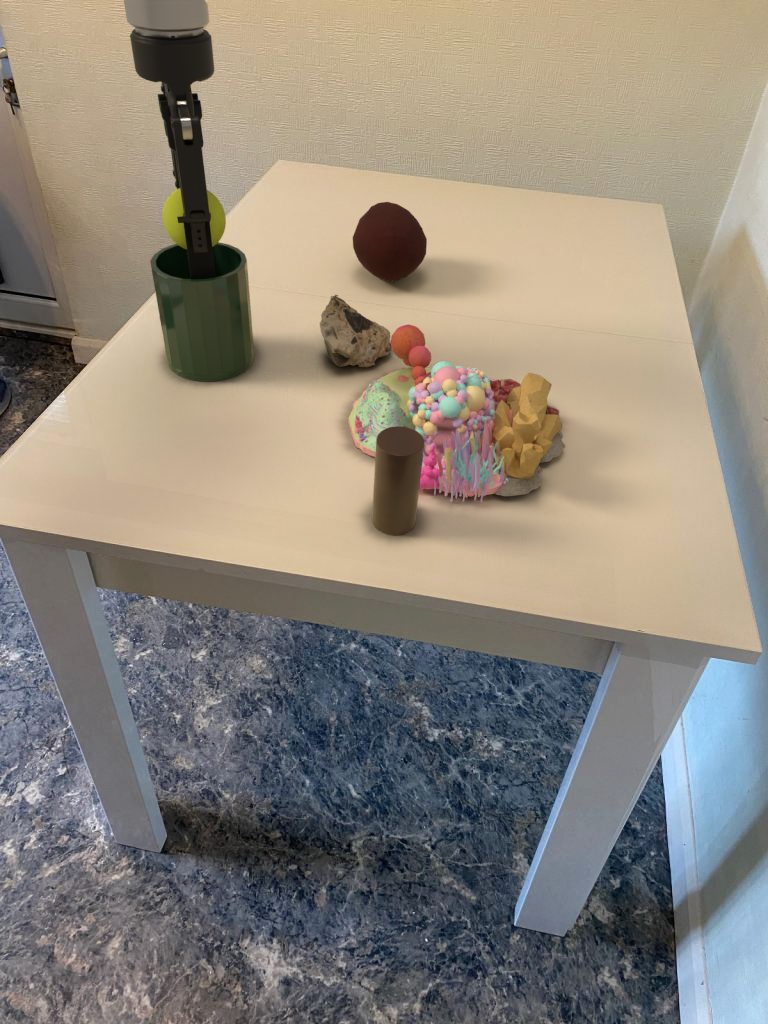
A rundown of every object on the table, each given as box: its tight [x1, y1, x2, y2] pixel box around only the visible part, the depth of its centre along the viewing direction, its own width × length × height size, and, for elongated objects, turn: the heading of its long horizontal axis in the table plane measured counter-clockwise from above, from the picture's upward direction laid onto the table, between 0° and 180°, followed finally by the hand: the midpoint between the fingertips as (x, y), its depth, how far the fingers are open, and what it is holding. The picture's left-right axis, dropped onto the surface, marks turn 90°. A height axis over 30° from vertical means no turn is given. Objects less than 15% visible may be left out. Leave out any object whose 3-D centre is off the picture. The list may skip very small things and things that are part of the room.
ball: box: [162, 188, 227, 249], centre depth 82 cm, size 7×7×7 cm
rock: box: [319, 294, 392, 368], centre depth 94 cm, size 9×7×10 cm
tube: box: [149, 241, 255, 382], centre depth 89 cm, size 11×11×13 cm
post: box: [371, 426, 424, 536], centre depth 70 cm, size 4×4×10 cm
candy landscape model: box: [347, 324, 566, 503], centre depth 82 cm, size 25×24×9 cm
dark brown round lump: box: [352, 201, 428, 282], centre depth 110 cm, size 11×13×10 cm
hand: (199, 262), depth 85 cm, fingers closed on ball, 7 cm apart
